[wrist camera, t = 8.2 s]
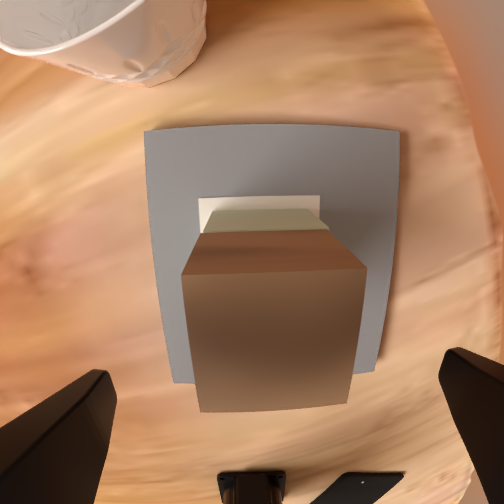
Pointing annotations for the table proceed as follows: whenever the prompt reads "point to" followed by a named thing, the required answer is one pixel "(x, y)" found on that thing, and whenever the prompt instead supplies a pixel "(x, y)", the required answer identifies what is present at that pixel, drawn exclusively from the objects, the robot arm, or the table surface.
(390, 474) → the cell phone
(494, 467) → the robot arm
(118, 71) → the white cup
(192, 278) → the walnut cube
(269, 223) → the sage cube
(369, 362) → the building board
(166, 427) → the table surface
